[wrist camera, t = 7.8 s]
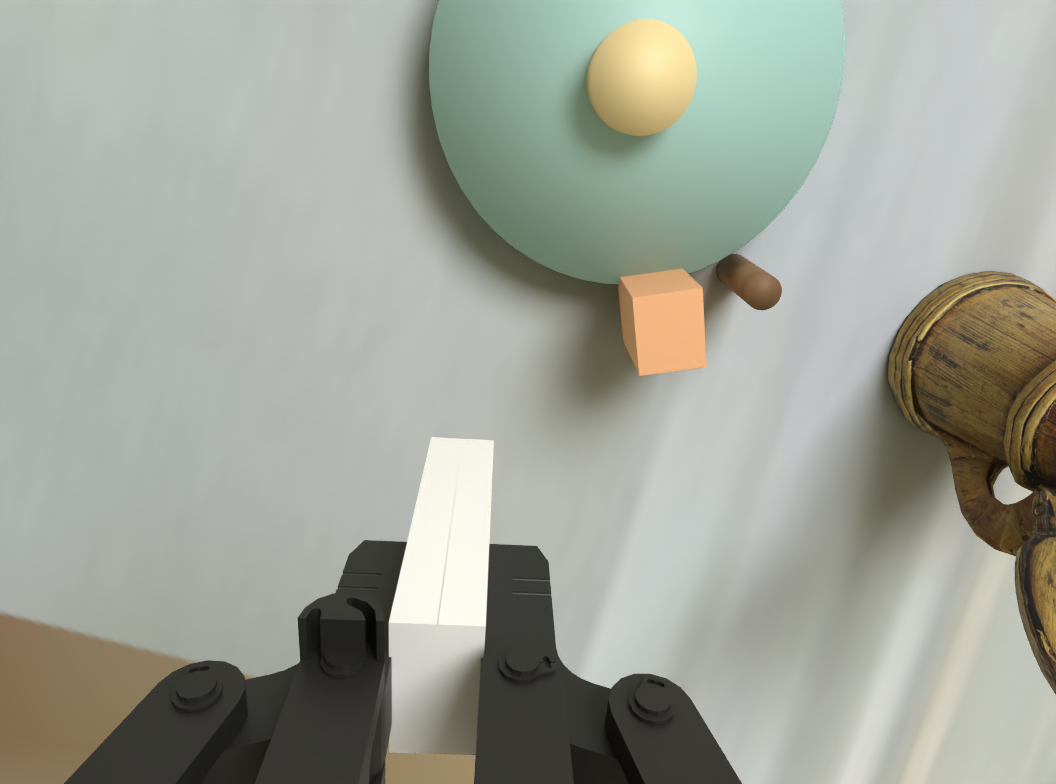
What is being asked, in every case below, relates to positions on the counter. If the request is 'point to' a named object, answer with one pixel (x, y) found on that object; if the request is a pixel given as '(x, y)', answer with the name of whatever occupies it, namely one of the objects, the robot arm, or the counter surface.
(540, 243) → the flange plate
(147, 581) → the counter surface
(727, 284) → the dowel
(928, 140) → the counter surface
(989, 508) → the wooden mug
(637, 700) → the robot arm
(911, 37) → the counter surface
